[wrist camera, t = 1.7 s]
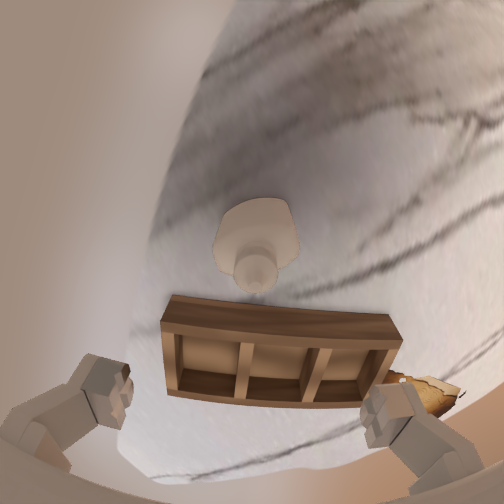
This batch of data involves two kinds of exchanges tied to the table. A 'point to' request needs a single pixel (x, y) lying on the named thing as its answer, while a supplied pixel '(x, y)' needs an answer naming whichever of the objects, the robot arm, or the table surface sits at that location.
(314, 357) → the slot rack
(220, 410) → the table surface
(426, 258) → the table surface
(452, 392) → the parchment
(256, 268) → the eye dropper bottle
